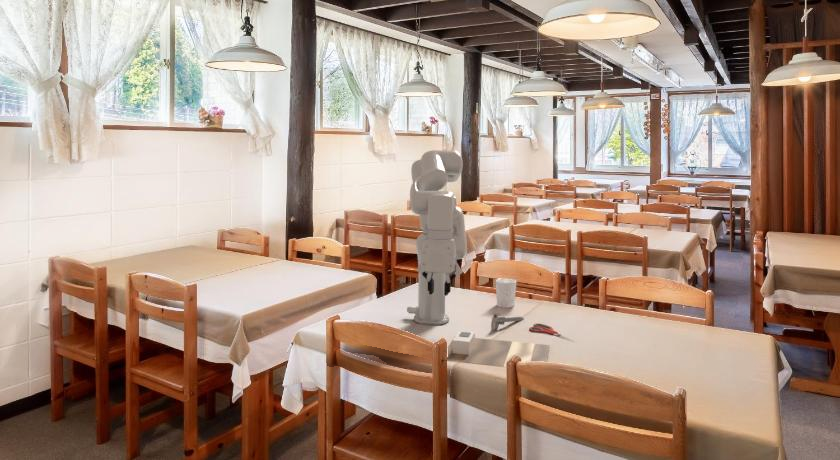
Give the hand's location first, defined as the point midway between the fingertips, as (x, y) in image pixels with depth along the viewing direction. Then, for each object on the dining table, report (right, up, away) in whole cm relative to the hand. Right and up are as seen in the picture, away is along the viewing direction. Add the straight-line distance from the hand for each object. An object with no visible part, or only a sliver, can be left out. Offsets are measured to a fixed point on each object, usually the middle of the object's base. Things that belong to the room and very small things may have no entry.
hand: (439, 293), depth 178 cm
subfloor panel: (+17, -18, -2) cm, 25 cm away
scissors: (+40, -16, +16) cm, 46 cm away
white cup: (+28, -10, +51) cm, 58 cm away
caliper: (+25, -14, +26) cm, 39 cm away
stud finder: (+8, -17, 0) cm, 19 cm away
